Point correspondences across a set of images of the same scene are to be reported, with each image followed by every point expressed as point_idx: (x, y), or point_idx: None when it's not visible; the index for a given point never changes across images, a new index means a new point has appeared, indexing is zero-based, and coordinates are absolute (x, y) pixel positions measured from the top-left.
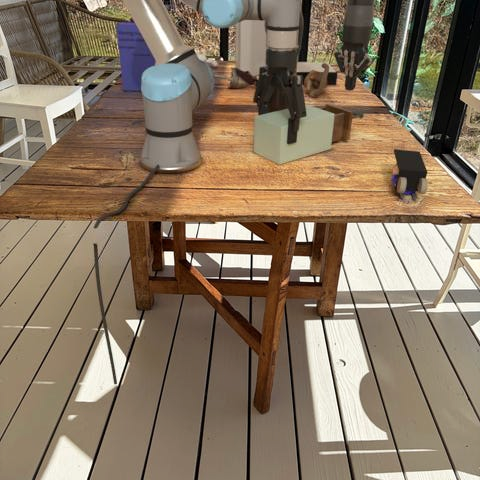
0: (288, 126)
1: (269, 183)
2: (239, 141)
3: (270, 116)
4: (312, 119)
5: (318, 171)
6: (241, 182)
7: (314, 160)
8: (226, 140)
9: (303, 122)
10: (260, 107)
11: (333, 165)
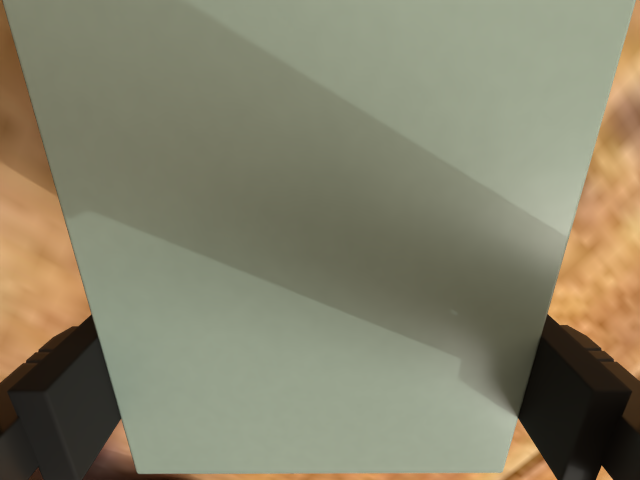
0: (521, 411)
1: (516, 424)
2: (51, 265)
3: (216, 389)
4: (611, 74)
5: (601, 208)
6: (442, 477)
7: None
8: (14, 307)
9: (564, 234)
10: (48, 475)
11: (626, 78)
